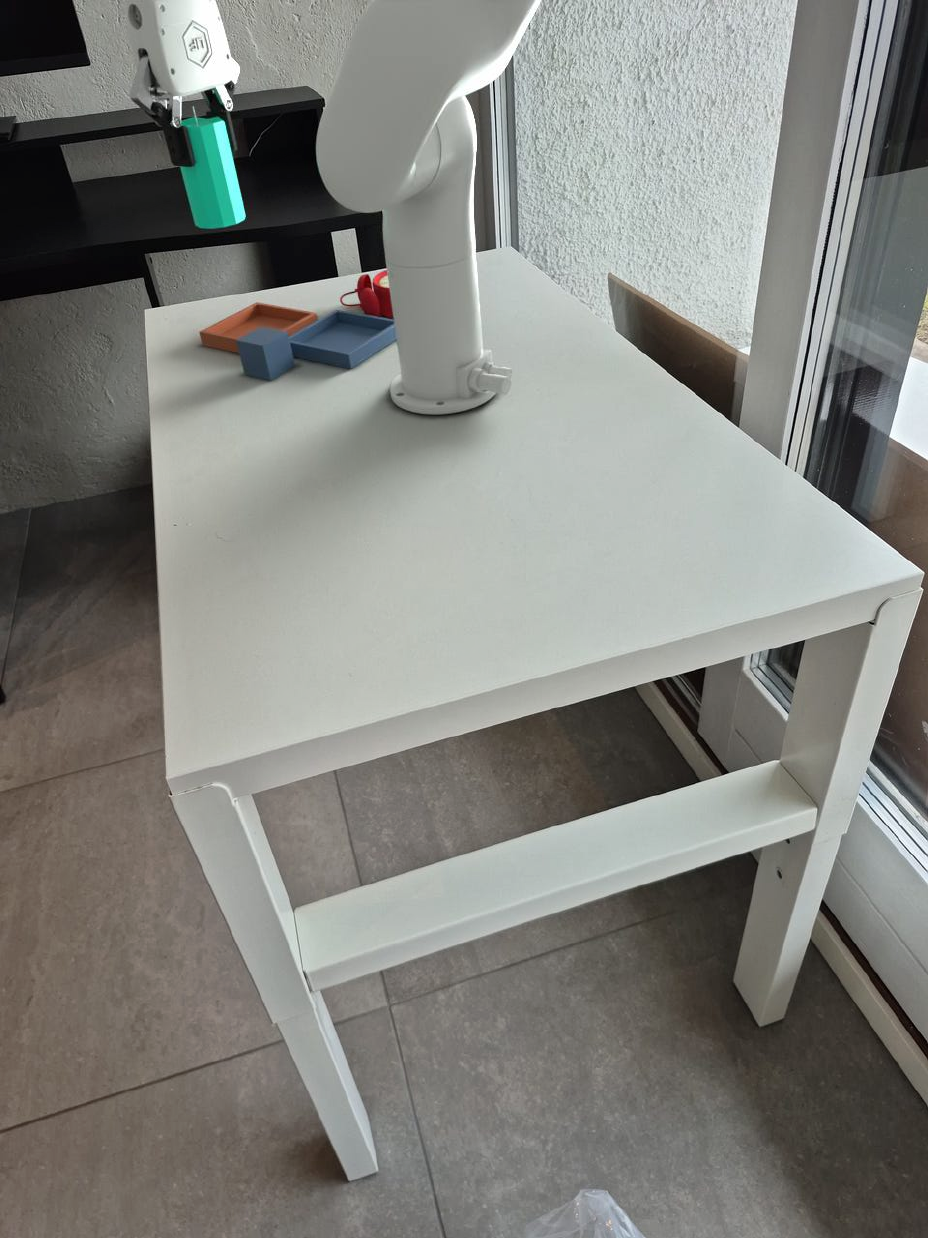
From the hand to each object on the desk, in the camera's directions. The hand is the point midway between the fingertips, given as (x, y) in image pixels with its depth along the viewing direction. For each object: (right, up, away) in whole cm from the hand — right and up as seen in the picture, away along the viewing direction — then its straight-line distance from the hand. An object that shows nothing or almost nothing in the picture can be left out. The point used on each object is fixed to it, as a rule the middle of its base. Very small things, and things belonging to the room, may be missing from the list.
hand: (205, 156), depth 102 cm
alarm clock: (+20, -9, +24) cm, 32 cm away
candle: (+1, -6, +5) cm, 7 cm away
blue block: (+5, -21, +11) cm, 25 cm away
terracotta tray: (+2, -14, +20) cm, 24 cm away
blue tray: (+14, -17, +15) cm, 26 cm away
